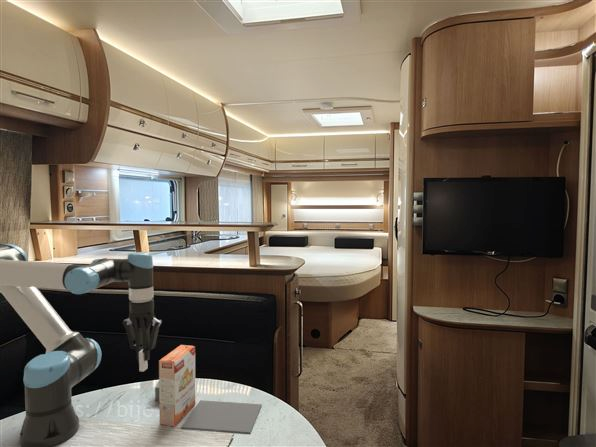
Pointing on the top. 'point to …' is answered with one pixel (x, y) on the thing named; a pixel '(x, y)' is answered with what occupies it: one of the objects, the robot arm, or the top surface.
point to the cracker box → (176, 384)
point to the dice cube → (157, 392)
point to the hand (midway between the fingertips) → (143, 369)
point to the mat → (223, 416)
